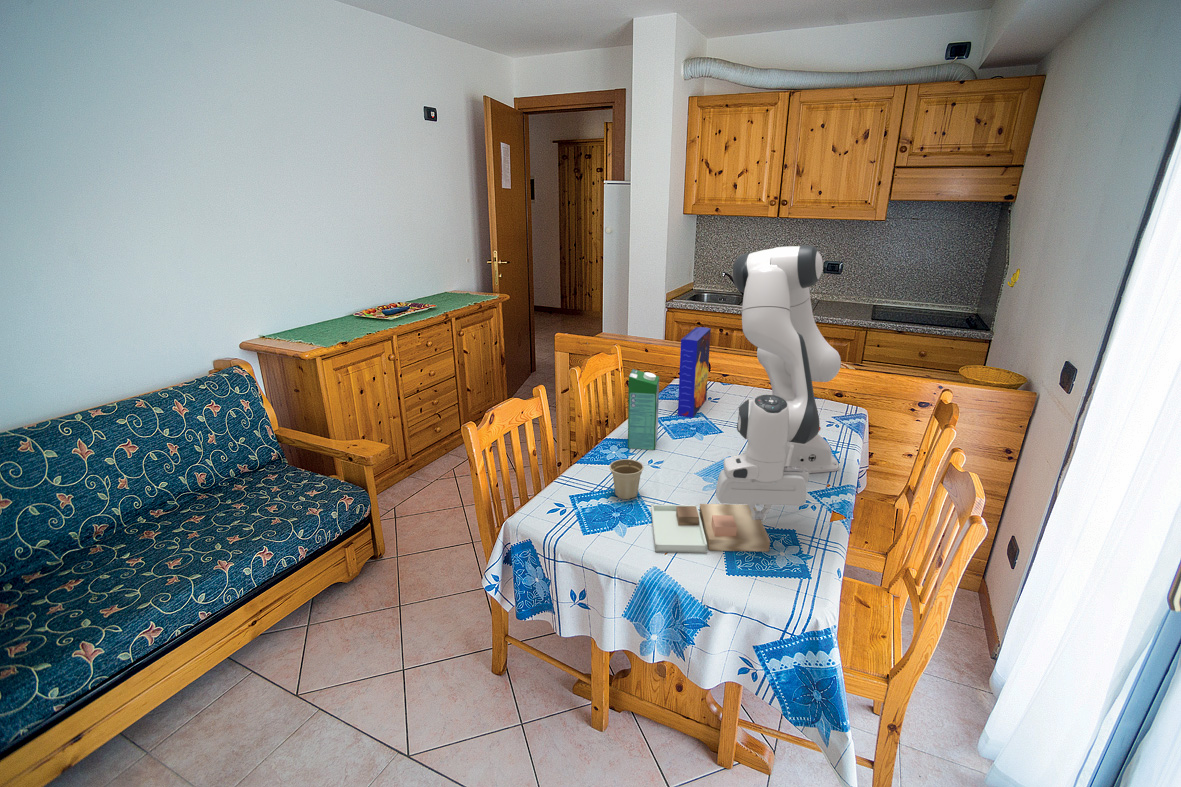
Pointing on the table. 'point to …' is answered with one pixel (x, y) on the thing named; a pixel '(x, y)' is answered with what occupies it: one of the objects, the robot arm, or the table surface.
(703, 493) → the table surface
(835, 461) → the robot arm
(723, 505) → the board
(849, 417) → the table surface
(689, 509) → the walnut tile
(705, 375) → the cereal box
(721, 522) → the terracotta tile
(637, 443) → the milk carton
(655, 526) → the tray
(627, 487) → the flower pot
